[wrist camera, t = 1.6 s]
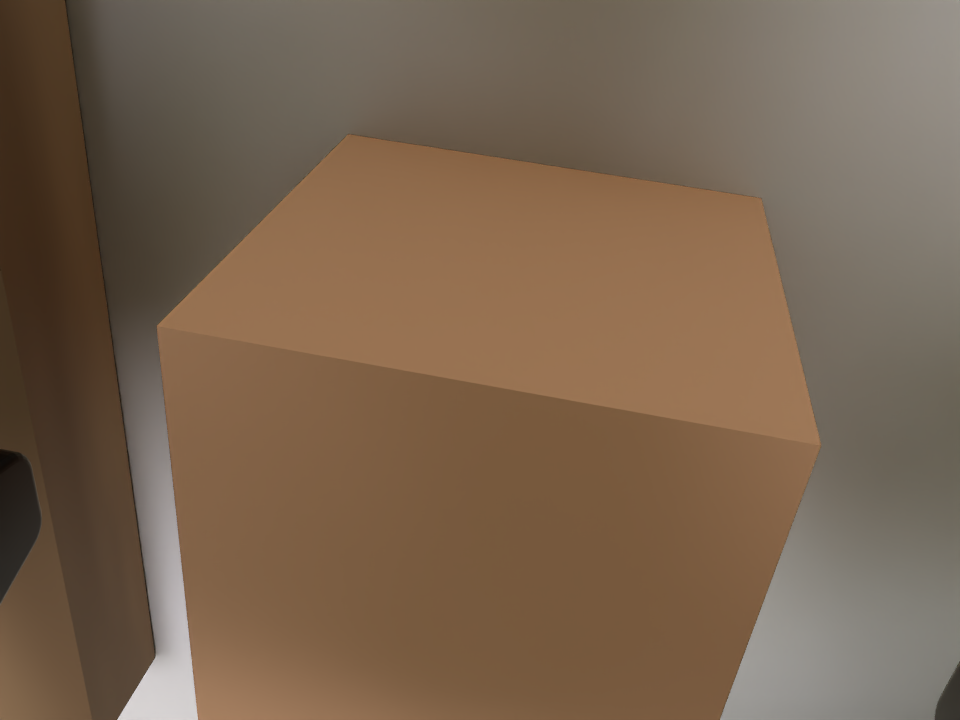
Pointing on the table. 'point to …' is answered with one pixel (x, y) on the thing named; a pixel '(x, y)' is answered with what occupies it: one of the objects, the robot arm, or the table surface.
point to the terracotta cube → (483, 444)
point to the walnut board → (61, 400)
